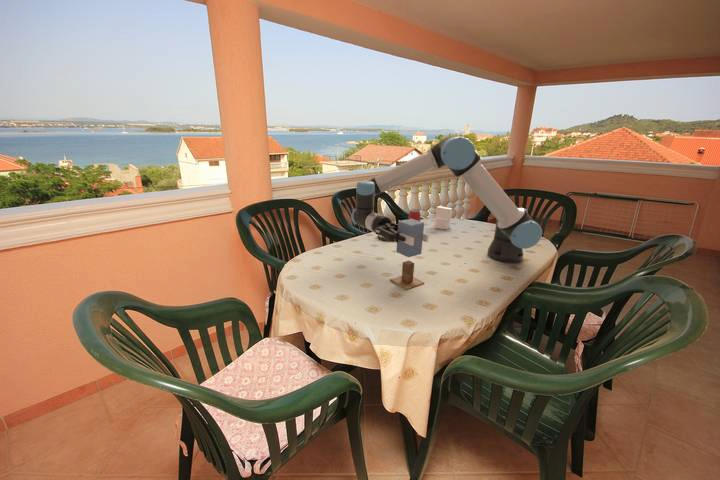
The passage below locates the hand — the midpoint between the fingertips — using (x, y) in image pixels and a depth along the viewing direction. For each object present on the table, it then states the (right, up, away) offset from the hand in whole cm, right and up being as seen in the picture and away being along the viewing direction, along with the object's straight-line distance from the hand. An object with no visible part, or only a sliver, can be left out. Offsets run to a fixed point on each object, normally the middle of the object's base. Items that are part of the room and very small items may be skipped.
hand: (420, 240), depth 110 cm
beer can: (+10, +5, +71) cm, 72 cm away
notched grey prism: (-3, -5, +6) cm, 8 cm away
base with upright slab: (+28, +7, +80) cm, 85 cm away
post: (-3, -16, +10) cm, 19 cm away
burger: (-6, +1, +59) cm, 60 cm away
